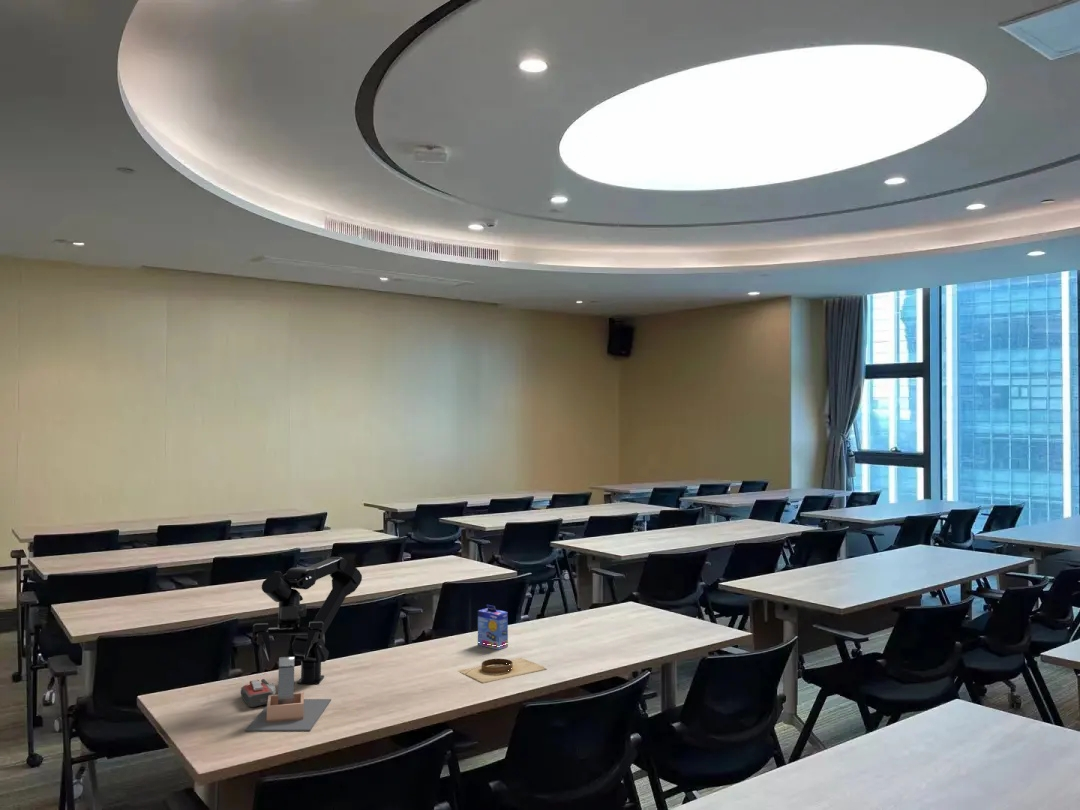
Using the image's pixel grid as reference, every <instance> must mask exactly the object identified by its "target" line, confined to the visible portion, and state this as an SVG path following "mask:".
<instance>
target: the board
mask: <svg viewBox="0 0 1080 810" xmlns="http://www.w3.org/2000/svg"><path fill="white" fill-rule="evenodd" d="M506 663H507V664H506ZM509 664H510V665H509ZM511 668H512V669H511ZM508 670H509V671H508ZM547 670H548V669H547V668H546V667H544V666H543V665H540V664H539V663H535V662H532V661H530V660H527V659H525V658H522V657H521V658H515V659H511V660H510V659H508V658H489V659H486V660H484V661H482V662H481V665H480V666H476V667H471V668H466V669H461V670H457V672H458V673H460V674H462V675H463V676H465V677H467V678H470V679H472V680H473V681H476V682H478V683H480V684H487V683H493V682H496V681H501V680H505V679H510V678H514V677H520V676H524V675H528V674H533V673H539V672H543V671H547Z"/></svg>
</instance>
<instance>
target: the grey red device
mask: <svg viewBox="0 0 1080 810" xmlns="http://www.w3.org/2000/svg"><path fill="white" fill-rule="evenodd" d="M240 689H241V690H240V697H241V698H242V699H243V700H244V702H245V704H247V706H248V707H250V708H255V707H259V706H266V705H267V703H268V695H276V693H277V692H276V686H275V684H274V683H270V682H268V681H267V680H266V679H265V678H262V679H261V681H260V680H259V679H254V680H249V684H246V685H243V686H241V688H240Z"/></svg>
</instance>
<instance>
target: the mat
mask: <svg viewBox="0 0 1080 810" xmlns="http://www.w3.org/2000/svg"><path fill="white" fill-rule="evenodd" d="M331 701H332V698H304V707H303V719H301V720H290V721H280V722H269V723H267V705H265V706H264V708H263V709H262V710H261V711H260V712H259V714H258V715H257V716H256V717H255V718H253V720H252V721H251V722H250V724H248V725H247V727H246V728H245V729H244V732H311V731H312V729H313V728H314V726H315V724H316V723H317V722H318V721H319V719H320V718H321V716H322V715H323V713H324V712H325V711H326V709H327V707H328V706H329V704H330V703H331Z"/></svg>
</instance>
